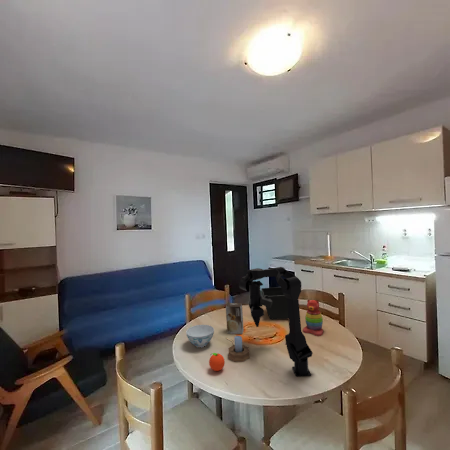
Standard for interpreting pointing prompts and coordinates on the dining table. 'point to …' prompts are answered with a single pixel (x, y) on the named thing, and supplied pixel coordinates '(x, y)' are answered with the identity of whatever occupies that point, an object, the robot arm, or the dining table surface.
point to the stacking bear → (313, 319)
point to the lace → (230, 340)
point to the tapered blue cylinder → (238, 344)
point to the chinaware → (200, 334)
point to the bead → (241, 355)
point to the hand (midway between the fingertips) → (256, 322)
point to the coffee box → (234, 318)
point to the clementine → (216, 362)
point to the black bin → (276, 303)
